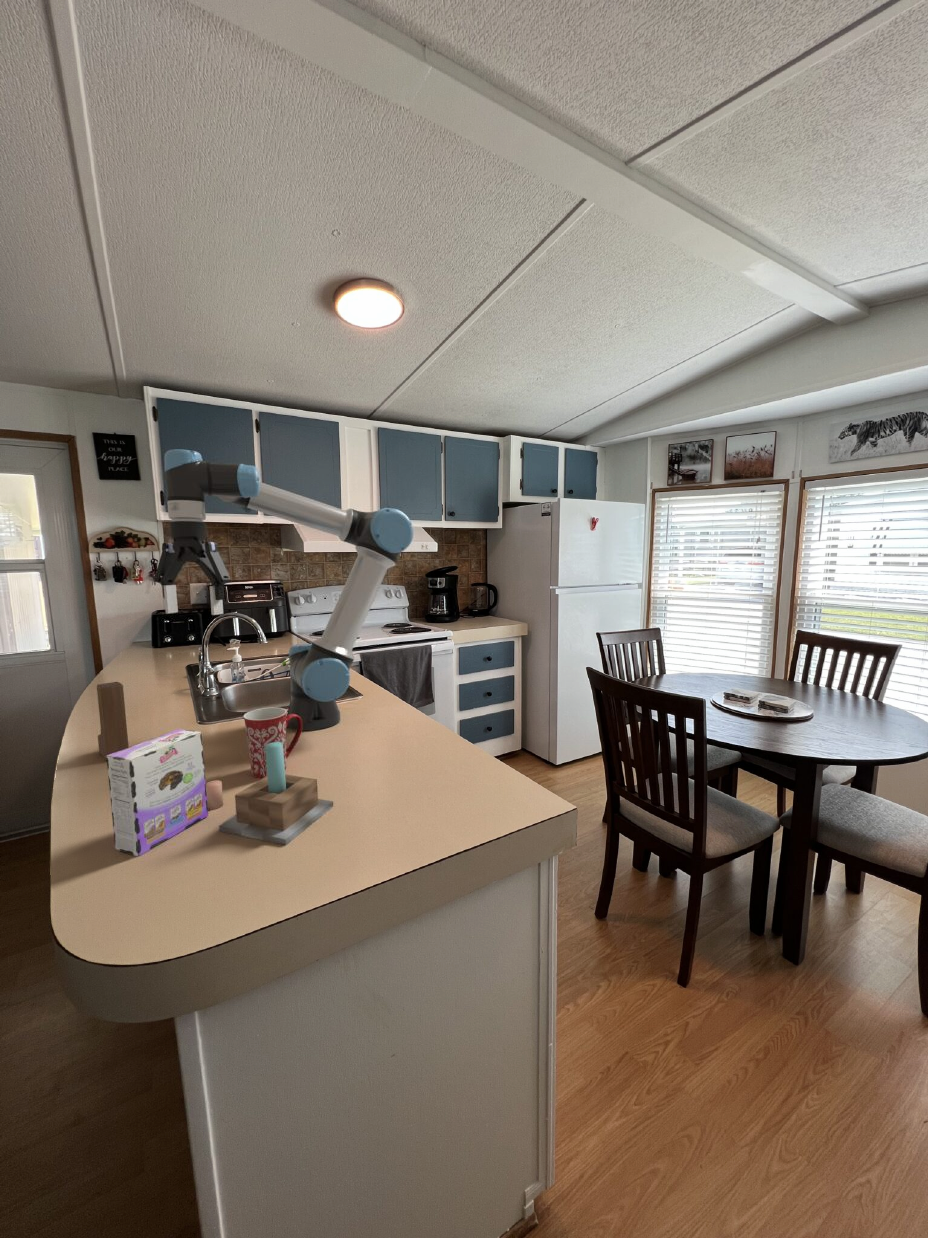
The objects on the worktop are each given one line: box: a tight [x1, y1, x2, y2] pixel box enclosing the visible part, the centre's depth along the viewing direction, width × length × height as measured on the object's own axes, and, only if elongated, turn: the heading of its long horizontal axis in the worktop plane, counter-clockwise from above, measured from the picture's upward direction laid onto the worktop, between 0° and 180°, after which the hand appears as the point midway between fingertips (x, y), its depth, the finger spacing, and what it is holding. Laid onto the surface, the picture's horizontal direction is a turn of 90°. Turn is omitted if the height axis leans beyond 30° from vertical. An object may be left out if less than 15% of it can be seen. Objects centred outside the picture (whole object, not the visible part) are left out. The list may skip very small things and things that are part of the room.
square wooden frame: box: [218, 773, 334, 846], centre depth 93 cm, size 14×14×6 cm
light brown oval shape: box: [205, 780, 224, 811], centre depth 98 cm, size 3×3×4 cm
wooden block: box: [96, 681, 129, 761], centre depth 124 cm, size 9×4×18 cm, turn 46°
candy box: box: [106, 728, 209, 857], centre depth 88 cm, size 14×6×16 cm, turn 159°
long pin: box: [265, 742, 286, 794], centre depth 93 cm, size 3×3×14 cm
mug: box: [242, 706, 303, 779], centre depth 115 cm, size 13×9×14 cm
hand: (194, 613), depth 119 cm, fingers open, 13 cm apart
